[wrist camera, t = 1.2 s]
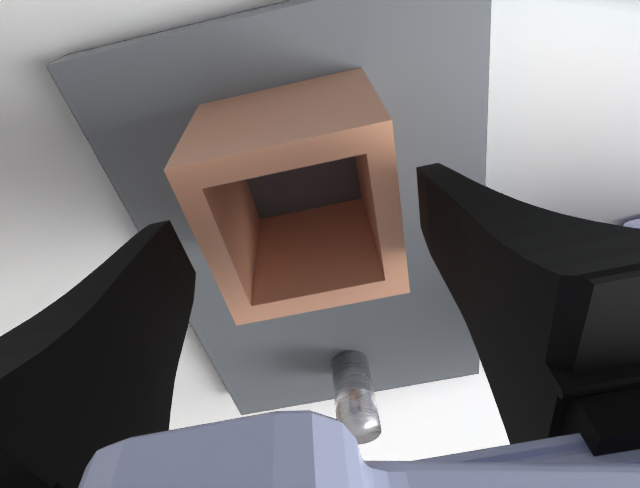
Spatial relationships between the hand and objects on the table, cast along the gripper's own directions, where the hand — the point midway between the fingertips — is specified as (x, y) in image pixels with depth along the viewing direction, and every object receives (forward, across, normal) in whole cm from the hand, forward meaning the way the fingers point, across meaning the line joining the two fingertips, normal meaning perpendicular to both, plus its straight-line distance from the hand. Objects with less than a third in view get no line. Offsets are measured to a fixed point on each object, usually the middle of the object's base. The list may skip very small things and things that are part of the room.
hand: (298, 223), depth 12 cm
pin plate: (+6, 0, +5) cm, 8 cm away
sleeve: (+4, 0, 0) cm, 4 cm away
